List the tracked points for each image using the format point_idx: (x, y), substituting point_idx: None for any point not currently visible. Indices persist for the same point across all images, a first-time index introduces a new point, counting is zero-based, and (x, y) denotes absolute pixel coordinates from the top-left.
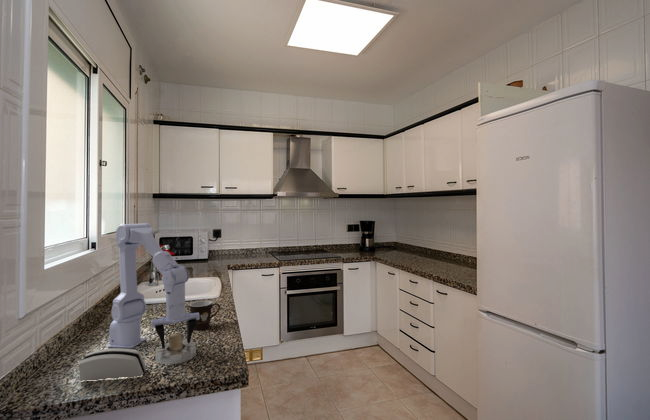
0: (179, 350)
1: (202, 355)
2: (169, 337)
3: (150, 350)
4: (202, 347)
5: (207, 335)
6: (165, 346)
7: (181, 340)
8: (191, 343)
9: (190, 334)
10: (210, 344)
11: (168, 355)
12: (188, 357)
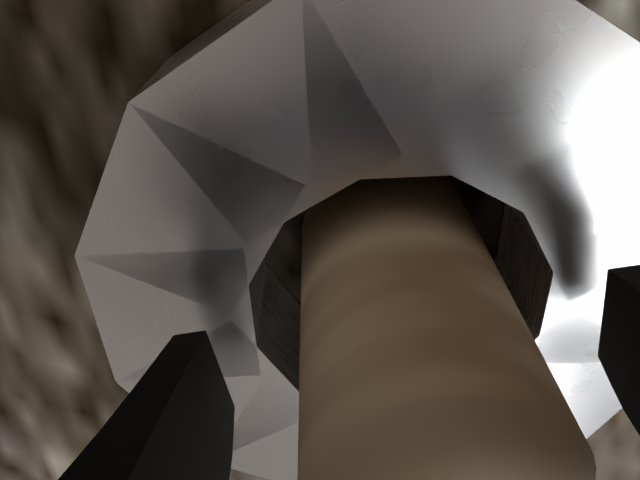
0: (345, 176)
1: (20, 139)
2: (591, 455)
3: (624, 457)
4: (83, 365)
5: None
6: None
7: (315, 364)
8: None
9: (99, 462)
10: (3, 405)
11: (561, 7)
12: (194, 44)
